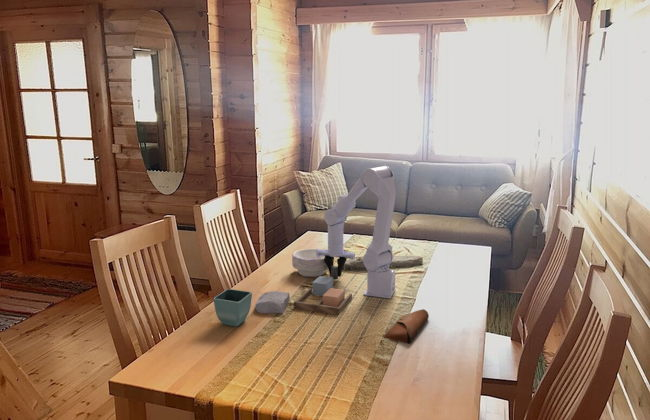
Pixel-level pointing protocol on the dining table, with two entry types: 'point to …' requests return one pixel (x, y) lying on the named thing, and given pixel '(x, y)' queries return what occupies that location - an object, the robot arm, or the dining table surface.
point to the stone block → (272, 302)
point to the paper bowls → (309, 262)
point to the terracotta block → (334, 297)
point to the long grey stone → (397, 261)
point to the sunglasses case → (407, 326)
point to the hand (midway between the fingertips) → (335, 275)
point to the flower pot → (232, 306)
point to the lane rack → (320, 304)
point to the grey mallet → (325, 282)
